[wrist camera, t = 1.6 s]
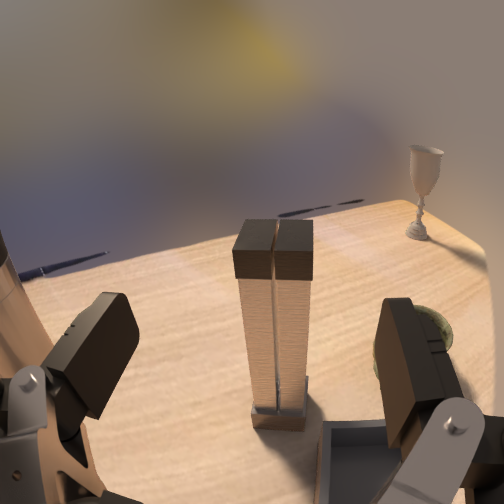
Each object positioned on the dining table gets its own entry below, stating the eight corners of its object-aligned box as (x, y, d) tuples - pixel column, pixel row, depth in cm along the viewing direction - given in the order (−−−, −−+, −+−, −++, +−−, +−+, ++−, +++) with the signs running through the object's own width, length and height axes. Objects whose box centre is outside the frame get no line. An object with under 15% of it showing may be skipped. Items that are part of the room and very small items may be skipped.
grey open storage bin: (417, 523, 16) (440, 510, 13) (310, 533, 17) (316, 525, 15) (410, 439, 24) (427, 414, 21) (317, 444, 25) (323, 421, 23)
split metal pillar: (303, 431, 27) (317, 254, 17) (253, 427, 28) (227, 253, 18) (307, 392, 31) (315, 217, 21) (260, 389, 32) (243, 217, 22)
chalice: (438, 238, 57) (450, 153, 48) (417, 245, 55) (429, 154, 47) (415, 224, 63) (423, 144, 54) (394, 230, 62) (401, 145, 53)
